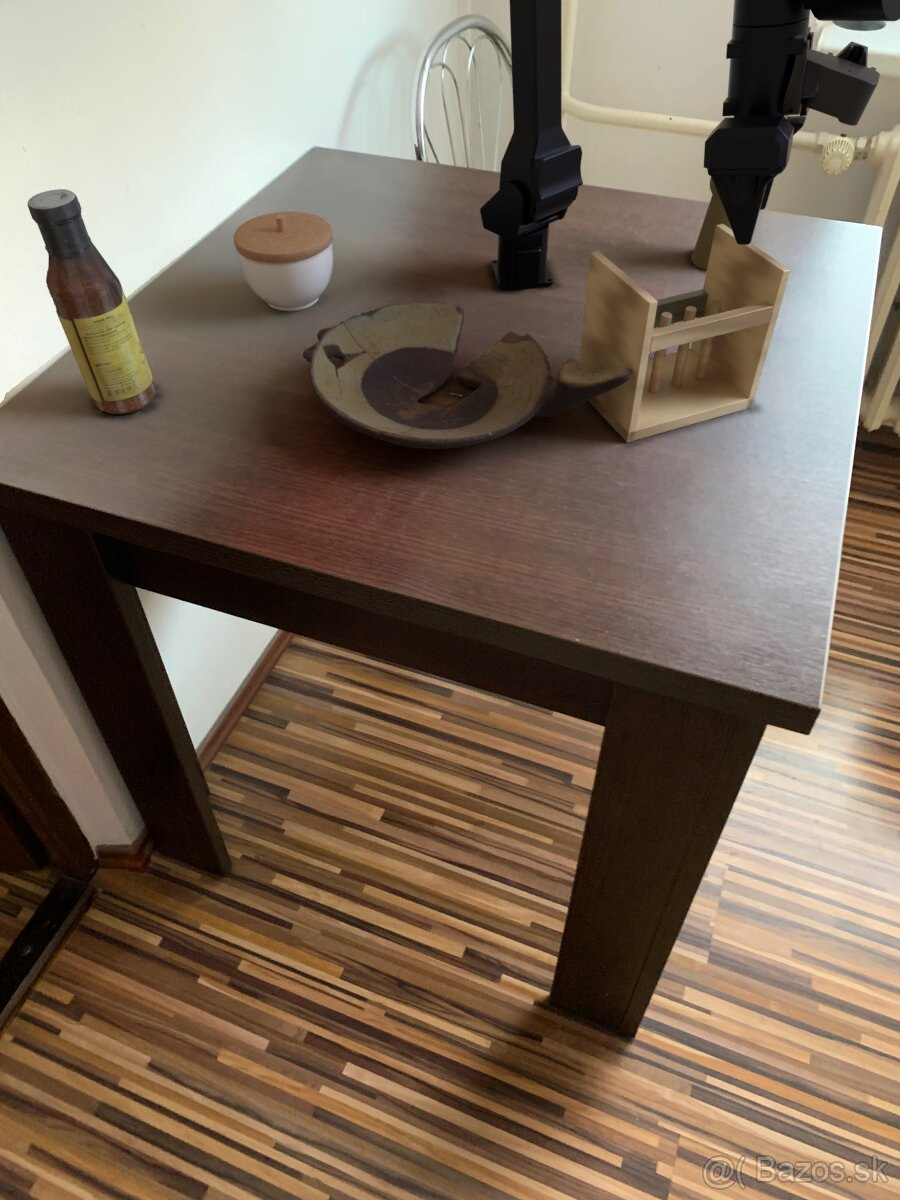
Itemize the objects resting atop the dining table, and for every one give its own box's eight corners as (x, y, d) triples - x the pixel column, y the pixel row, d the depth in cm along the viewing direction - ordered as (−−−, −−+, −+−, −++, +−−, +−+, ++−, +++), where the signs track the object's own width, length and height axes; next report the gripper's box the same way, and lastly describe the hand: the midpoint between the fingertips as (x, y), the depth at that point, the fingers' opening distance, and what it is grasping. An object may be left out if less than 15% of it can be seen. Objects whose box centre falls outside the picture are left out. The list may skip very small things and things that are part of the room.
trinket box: (228, 311, 100) (210, 229, 93) (275, 269, 107) (262, 190, 100) (312, 328, 97) (300, 245, 90) (355, 284, 104) (347, 204, 97)
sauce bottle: (169, 388, 90) (111, 187, 75) (135, 423, 85) (67, 218, 71) (114, 377, 91) (47, 178, 77) (78, 411, 87) (0, 208, 73)
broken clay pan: (412, 321, 98) (408, 254, 92) (647, 419, 85) (660, 348, 79) (261, 413, 86) (247, 343, 81) (506, 544, 73) (509, 471, 67)
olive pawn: (743, 274, 104) (766, 177, 96) (690, 269, 105) (709, 174, 97) (741, 250, 108) (763, 156, 100) (691, 247, 109) (709, 153, 101)
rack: (575, 387, 89) (590, 252, 78) (694, 356, 92) (723, 223, 82) (627, 443, 82) (649, 303, 72) (752, 407, 86) (791, 269, 76)
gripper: (876, 35, 60) (840, 266, 70) (888, -8, 73) (856, 192, 82) (708, 47, 64) (696, 263, 74) (747, 4, 77) (733, 193, 87)
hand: (751, 225), depth 79 cm, fingers open, 9 cm apart
